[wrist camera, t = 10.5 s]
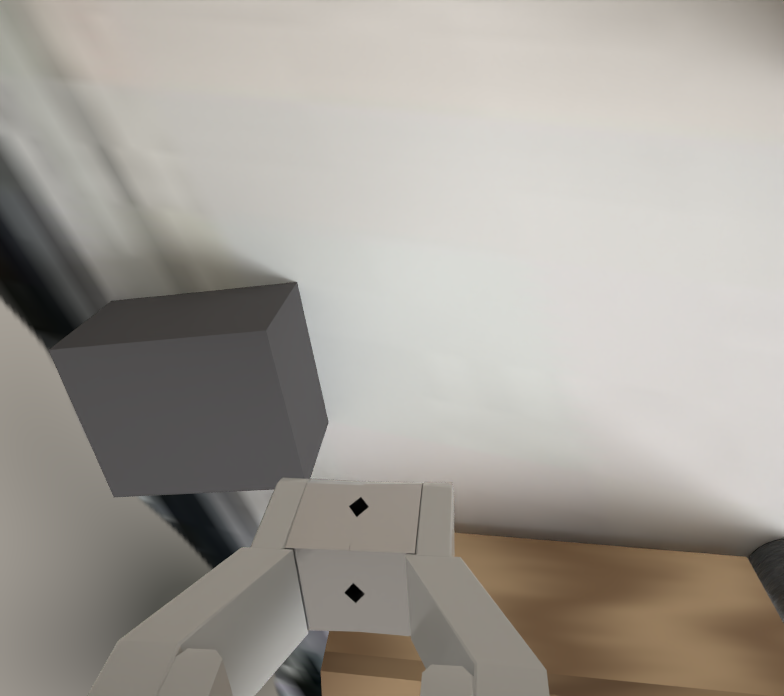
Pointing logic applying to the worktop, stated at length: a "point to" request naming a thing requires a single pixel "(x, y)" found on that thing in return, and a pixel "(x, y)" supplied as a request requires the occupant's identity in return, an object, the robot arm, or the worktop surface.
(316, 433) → the block
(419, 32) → the worktop surface
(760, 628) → the gate
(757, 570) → the hinge post
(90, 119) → the worktop surface
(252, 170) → the worktop surface
